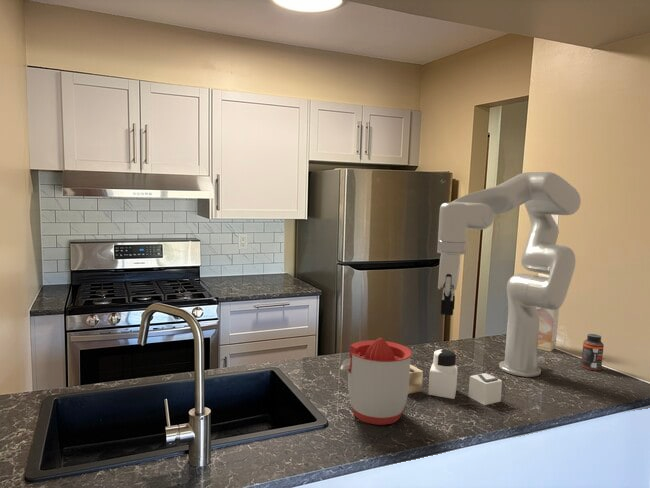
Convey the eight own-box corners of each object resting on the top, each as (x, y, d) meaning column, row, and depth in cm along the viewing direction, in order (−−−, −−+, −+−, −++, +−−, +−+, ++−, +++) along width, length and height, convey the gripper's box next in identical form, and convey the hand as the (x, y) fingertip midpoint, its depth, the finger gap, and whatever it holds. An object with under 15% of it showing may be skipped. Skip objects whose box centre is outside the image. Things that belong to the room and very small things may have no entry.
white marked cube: (484, 393, 136) (485, 372, 135) (500, 401, 130) (502, 379, 130) (468, 396, 133) (469, 375, 132) (484, 405, 127) (486, 382, 127)
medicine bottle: (456, 389, 137) (458, 349, 136) (454, 399, 130) (457, 357, 129) (431, 385, 139) (433, 346, 138) (428, 395, 133) (430, 353, 131)
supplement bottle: (599, 372, 155) (602, 339, 154) (579, 368, 159) (582, 335, 158) (603, 368, 160) (606, 335, 159) (583, 363, 164) (586, 331, 162)
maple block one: (408, 383, 141) (409, 363, 140) (421, 391, 135) (423, 370, 135) (392, 386, 138) (393, 365, 137) (404, 394, 132) (405, 373, 132)
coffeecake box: (509, 342, 185) (513, 293, 183) (515, 339, 190) (519, 291, 188) (550, 352, 175) (555, 300, 173) (556, 347, 180) (560, 297, 178)
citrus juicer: (338, 400, 127) (341, 327, 125) (403, 403, 127) (407, 330, 125) (338, 428, 112) (341, 345, 110) (412, 432, 111) (417, 349, 109)
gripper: (439, 244, 140) (436, 304, 142) (434, 250, 124) (430, 317, 125) (466, 245, 138) (462, 306, 140) (464, 252, 121) (460, 320, 123)
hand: (447, 311), depth 132 cm, fingers open, 6 cm apart
